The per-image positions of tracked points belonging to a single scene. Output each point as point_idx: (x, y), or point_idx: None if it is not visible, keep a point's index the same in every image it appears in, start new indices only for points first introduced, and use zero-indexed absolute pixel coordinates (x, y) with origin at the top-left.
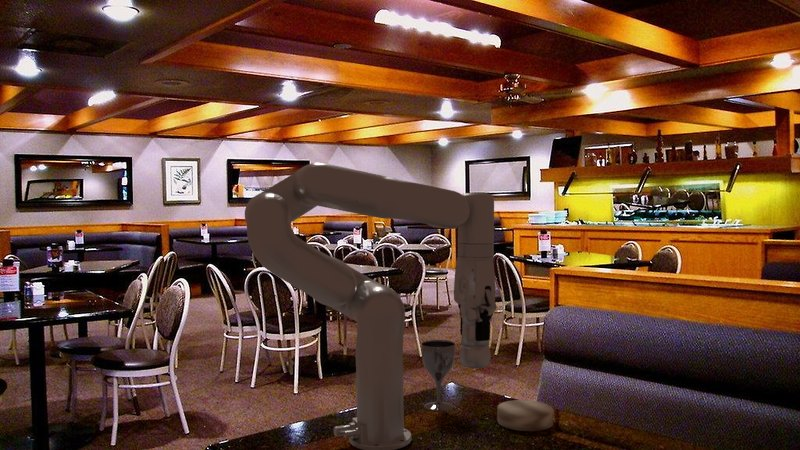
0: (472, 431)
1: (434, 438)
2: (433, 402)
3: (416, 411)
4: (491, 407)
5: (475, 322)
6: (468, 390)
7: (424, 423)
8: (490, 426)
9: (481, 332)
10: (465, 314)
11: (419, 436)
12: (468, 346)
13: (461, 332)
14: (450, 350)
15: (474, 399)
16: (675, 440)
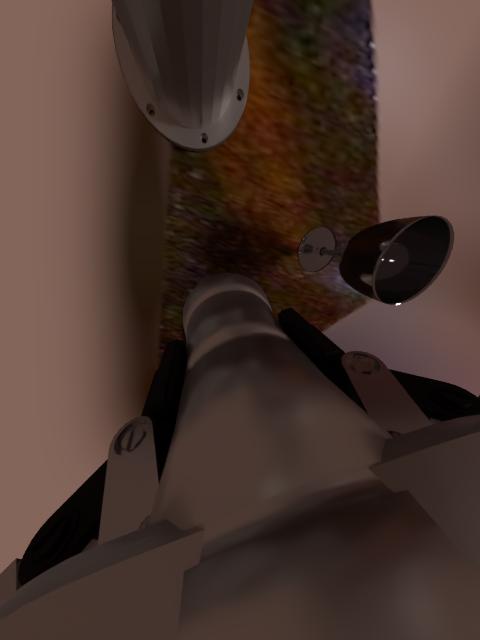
0: (210, 268)
1: (190, 200)
2: (328, 244)
3: (312, 208)
4: None
5: (162, 399)
6: (353, 305)
7: (258, 204)
8: None
9: (154, 380)
10: (221, 393)
11: (202, 174)
12: (199, 306)
13: (285, 313)
14: (365, 285)
15: (321, 303)
16: None
